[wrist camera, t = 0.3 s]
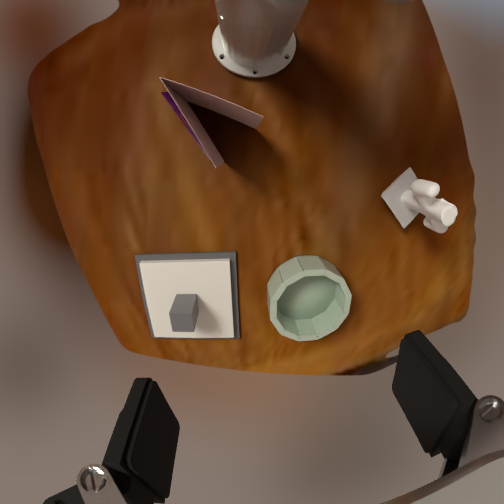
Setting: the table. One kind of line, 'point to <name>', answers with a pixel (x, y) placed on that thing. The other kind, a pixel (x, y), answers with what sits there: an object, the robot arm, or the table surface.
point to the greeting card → (183, 93)
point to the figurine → (419, 202)
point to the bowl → (307, 298)
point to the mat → (194, 256)
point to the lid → (189, 297)
